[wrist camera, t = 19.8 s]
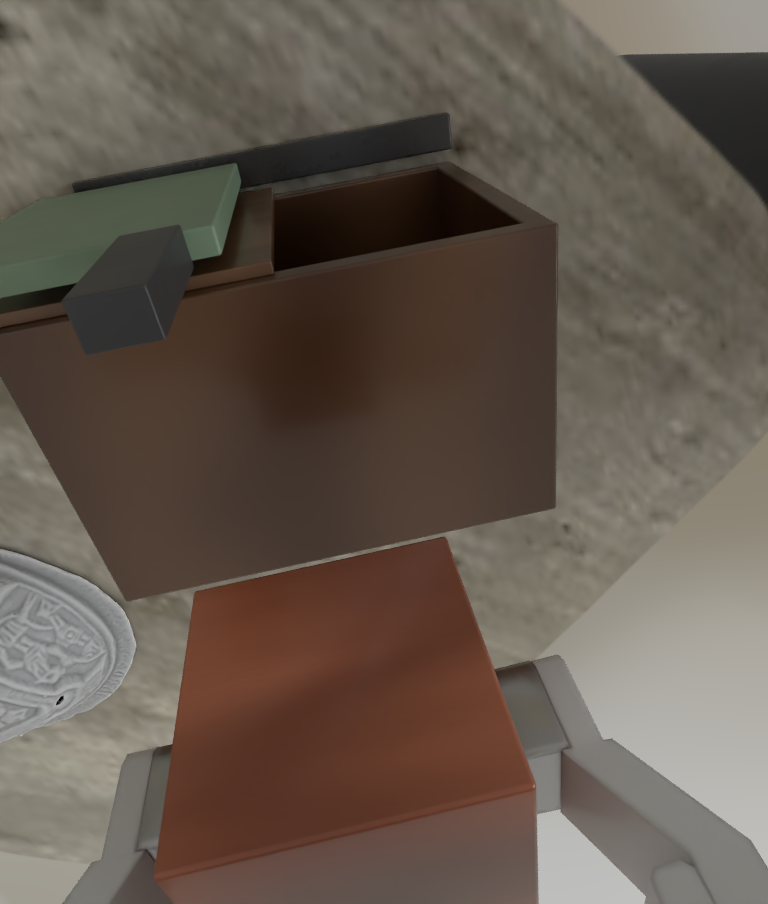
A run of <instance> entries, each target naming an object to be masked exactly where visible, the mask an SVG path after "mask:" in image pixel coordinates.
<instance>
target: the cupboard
mask: <svg viewBox="0 0 768 904" xmlns="http://www.w3.org/2000/svg"><path fill="white" fill-rule="evenodd" d="M451 148H452V141H451V129H450V116H449V114H448V113H441V114H435V115H430V116H425V117H419V118H414V119H409V120H403V121H398V122H393V123H387V124H382V125H376V126H371V127H366V128H360V129H355V130H350V131H344V132H339V133H334V134H328V135H323V136H318V137H312V138H307V139H302V140H296V141H291V142H286V143H280V144H275V145H270V146H264V147H259V148H254V149H248V150H243V151H238V152H232V153H227V154H221V155H216V156H211V157H205V158H200V159H195V160H189V161H184V162H179V163H173V164H168V165H163V166H157V167H152V168H147V169H141V170H136V171H131V172H125V173H120V174H115V175H109V176H104V177H99V178H93V179H88V180H83V181H77V182H75V183H73V184H72V186H73V188H74V191H75V193H78V192H83V191H89V190H94V189H99V188H105V187H110V186H115V185H121V184H126V183H131V182H137V181H142V180H147V179H153V178H158V177H163V176H169V175H174V174H179V173H185V172H190V171H195V170H201V169H206V168H211V167H217V166H222V165H227V164H232V163H236V164H237V167H238V171H239V175H240V178H241V185H240V189H241V188H247V187H252V186H257V185H262V184H268V183H273V182H278V181H283V180H289V179H294V178H299V177H304V176H310V175H315V174H320V173H326V172H331V171H336V170H341V169H347V168H352V167H357V166H362V165H368V164H373V163H378V162H383V161H389V160H394V159H399V158H405V157H410V156H415V155H420V154H426V153H431V152H436V151H441V150H447V149H451ZM192 263H193V266H194V268H193V271H192V274H191V276H190V279H189V281H188V284H187V286H186V289H185V292H184V294H183V297H182V299H181V302H180V304H179V307H178V310H177V312H176V315H175V317H174V320H173V322H172V325H171V328H170V330H169V333H168V335H167V338H166V339H165V340H162V341H157V342H152V343H147V344H142V345H137V346H132V347H127V348H122V349H117V350H112V351H107V352H102V353H97V354H92V355H86V354H85V352H84V350H83V348H82V346H81V344H80V342H79V339H78V337H77V335H76V333H75V331H74V328H73V326H72V324H71V322H70V320H69V318H68V315H67V313H66V311H65V309H64V307H63V305H62V299H63V298H64V297H65V296H66V295H67V294H68V293H69V292H70V290H71V289H72V288H73V287H74V286H75V285H76V284H77V283H75V284H70V285H65V286H60V287H55V288H50V289H44V290H39V291H34V292H29V293H24V294H19V295H14V296H8V297H3V298H1V299H0V376H1V378H2V380H3V381H4V383H5V385H6V387H7V389H8V390H9V392H10V394H11V396H12V398H13V399H14V401H15V403H16V405H17V406H18V408H19V410H20V412H21V414H22V415H23V417H24V419H25V421H26V423H27V424H28V426H29V428H30V430H31V432H32V433H33V435H34V437H35V439H36V441H37V442H38V444H39V446H40V448H41V450H42V451H43V453H44V455H45V457H46V459H47V460H48V462H49V464H50V466H51V468H52V469H53V471H54V473H55V475H56V476H57V478H58V480H59V482H60V484H61V485H62V487H63V489H64V491H65V493H66V494H67V496H68V498H69V500H70V502H71V503H72V505H73V507H74V509H75V511H76V512H77V514H78V516H79V518H80V520H81V521H82V523H83V525H84V527H85V529H86V530H87V532H88V534H89V536H90V538H91V539H92V541H93V543H94V545H95V547H96V548H97V550H98V552H99V554H100V555H101V557H102V559H103V561H104V563H105V564H106V566H107V568H108V570H109V572H110V573H111V575H112V577H113V579H114V581H115V582H116V584H117V586H118V588H119V590H120V591H121V593H122V595H123V597H124V599H125V600H126V601H132V600H137V599H141V598H146V597H151V596H155V595H160V594H164V593H169V592H174V591H178V590H183V589H187V588H192V587H197V586H201V585H206V584H210V583H215V582H219V581H224V580H229V579H233V578H238V577H242V576H247V575H252V574H256V573H261V572H265V571H270V570H275V569H279V568H284V567H288V566H293V565H298V564H302V563H307V562H311V561H316V560H321V559H325V558H330V557H334V556H339V555H344V554H348V553H353V552H357V551H362V550H366V549H371V548H376V547H380V546H385V545H389V544H394V543H399V542H403V541H408V540H412V539H417V538H422V537H426V536H431V535H435V534H440V533H445V532H449V531H454V530H458V529H463V528H468V527H472V526H477V525H481V524H486V523H490V522H495V521H500V520H504V519H509V518H513V517H518V516H523V515H527V514H532V513H536V512H541V511H546V510H550V509H554V508H555V507H556V422H557V308H558V224H557V223H555V222H553V221H552V220H550V219H548V218H546V217H545V216H543V215H541V214H539V213H538V212H536V211H534V210H532V209H531V208H529V207H527V206H526V205H524V204H522V203H520V202H519V201H517V200H515V199H513V198H512V197H510V196H508V195H506V194H505V193H503V192H501V191H500V190H498V189H496V188H494V187H493V186H491V185H489V184H487V183H486V182H484V181H482V180H481V179H479V178H477V177H475V176H474V175H472V174H470V173H468V172H467V171H465V170H463V169H461V168H460V167H458V166H456V165H455V164H453V163H451V162H445V163H440V164H435V165H430V166H424V167H419V168H414V169H409V170H403V171H398V172H393V173H388V174H382V175H377V176H372V177H367V178H361V179H356V180H351V181H346V182H340V183H335V184H330V185H325V186H319V187H314V188H309V189H304V190H299V191H293V192H288V193H283V194H278V195H274V192H273V188H266V189H261V190H256V191H250V192H245V193H240V194H238V196H237V200H236V203H235V207H234V211H233V214H232V218H231V222H230V225H229V229H228V233H227V236H226V240H225V244H224V247H223V251H222V254H221V255H219V256H214V257H209V258H204V259H199V260H194V261H192Z"/></svg>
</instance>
